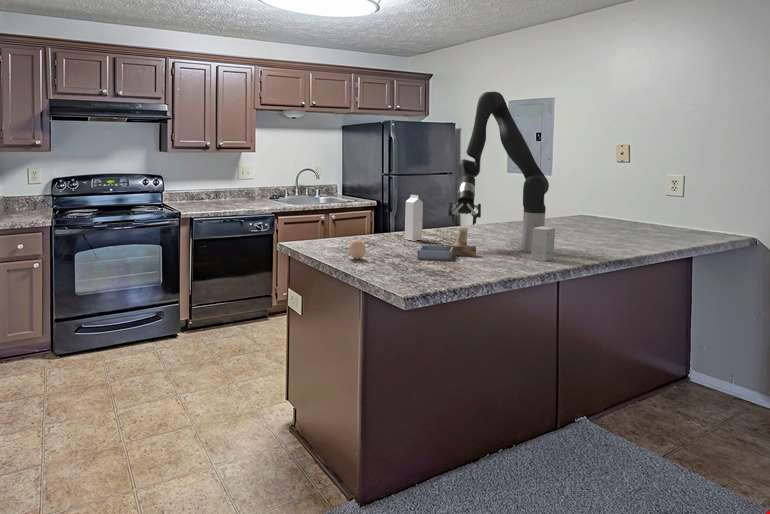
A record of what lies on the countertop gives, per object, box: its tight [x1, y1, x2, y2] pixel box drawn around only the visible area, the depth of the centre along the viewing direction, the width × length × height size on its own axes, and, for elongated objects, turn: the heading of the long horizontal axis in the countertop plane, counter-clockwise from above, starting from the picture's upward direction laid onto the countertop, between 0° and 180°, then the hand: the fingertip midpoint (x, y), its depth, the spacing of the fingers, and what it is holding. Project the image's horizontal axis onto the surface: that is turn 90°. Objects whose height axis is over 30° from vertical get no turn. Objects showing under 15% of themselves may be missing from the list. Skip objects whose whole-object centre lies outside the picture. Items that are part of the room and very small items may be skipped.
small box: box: [530, 225, 556, 262], centre depth 231 cm, size 8×6×13 cm
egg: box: [348, 239, 367, 260], centre depth 225 cm, size 7×7×8 cm
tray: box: [417, 244, 454, 262], centre depth 233 cm, size 13×13×4 cm
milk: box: [404, 194, 424, 241], centre depth 273 cm, size 6×6×22 cm
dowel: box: [456, 226, 469, 246], centre depth 241 cm, size 4×4×11 cm
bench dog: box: [446, 244, 477, 257], centre depth 238 cm, size 12×3×4 cm, turn 79°
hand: (463, 223), depth 247 cm, fingers open, 8 cm apart
